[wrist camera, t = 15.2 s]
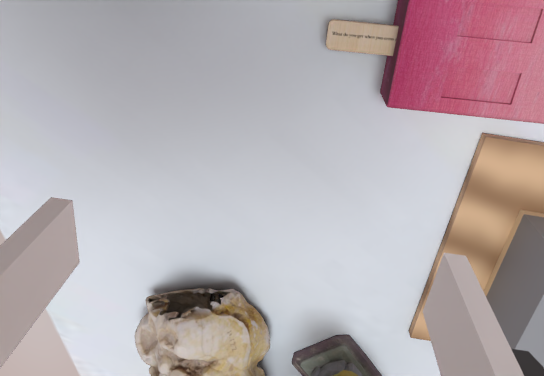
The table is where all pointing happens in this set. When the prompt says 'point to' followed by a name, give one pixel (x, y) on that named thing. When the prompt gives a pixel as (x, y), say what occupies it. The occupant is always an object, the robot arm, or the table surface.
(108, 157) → the table surface
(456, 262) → the robot arm
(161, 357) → the stone
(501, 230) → the oak board
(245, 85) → the table surface
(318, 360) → the statue
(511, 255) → the block
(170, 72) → the table surface
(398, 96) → the pink flat block
